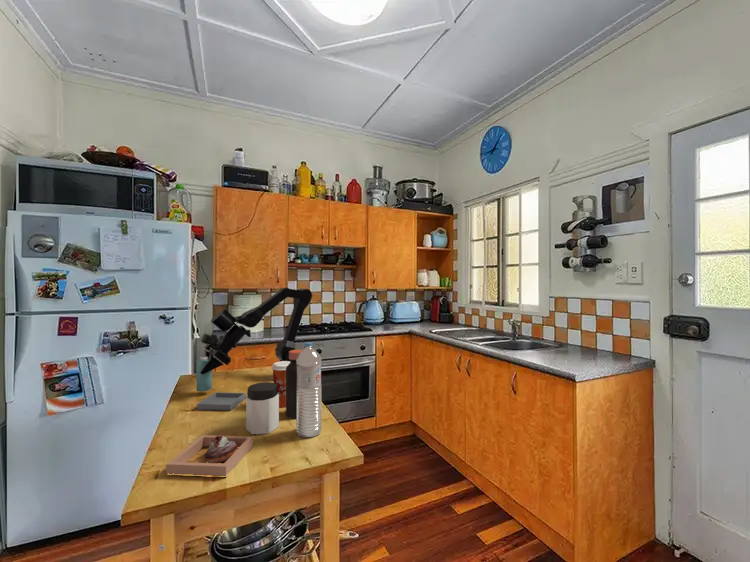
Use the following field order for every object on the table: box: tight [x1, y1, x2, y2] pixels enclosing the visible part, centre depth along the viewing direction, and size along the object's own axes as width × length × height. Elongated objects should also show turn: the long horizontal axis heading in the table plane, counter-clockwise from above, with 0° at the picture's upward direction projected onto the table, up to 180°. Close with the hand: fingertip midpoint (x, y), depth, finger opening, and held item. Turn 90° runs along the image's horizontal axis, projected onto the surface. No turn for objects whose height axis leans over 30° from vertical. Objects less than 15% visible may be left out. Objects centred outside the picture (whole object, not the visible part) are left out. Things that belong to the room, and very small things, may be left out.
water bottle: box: [295, 341, 322, 439], centre depth 92 cm, size 7×7×25 cm
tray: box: [196, 391, 247, 412], centre depth 113 cm, size 11×11×2 cm
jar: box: [245, 381, 280, 436], centre depth 95 cm, size 9×8×12 cm
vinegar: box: [285, 349, 304, 420], centre depth 104 cm, size 7×7×20 cm
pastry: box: [203, 433, 238, 464], centre depth 80 cm, size 8×8×5 cm
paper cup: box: [271, 361, 290, 409], centre depth 113 cm, size 8×8×14 cm
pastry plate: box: [165, 434, 254, 476], centre depth 78 cm, size 13×13×2 cm
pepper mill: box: [195, 355, 213, 393], centre depth 123 cm, size 5×5×12 cm
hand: (199, 372), depth 122 cm, fingers closed on pepper mill, 5 cm apart
